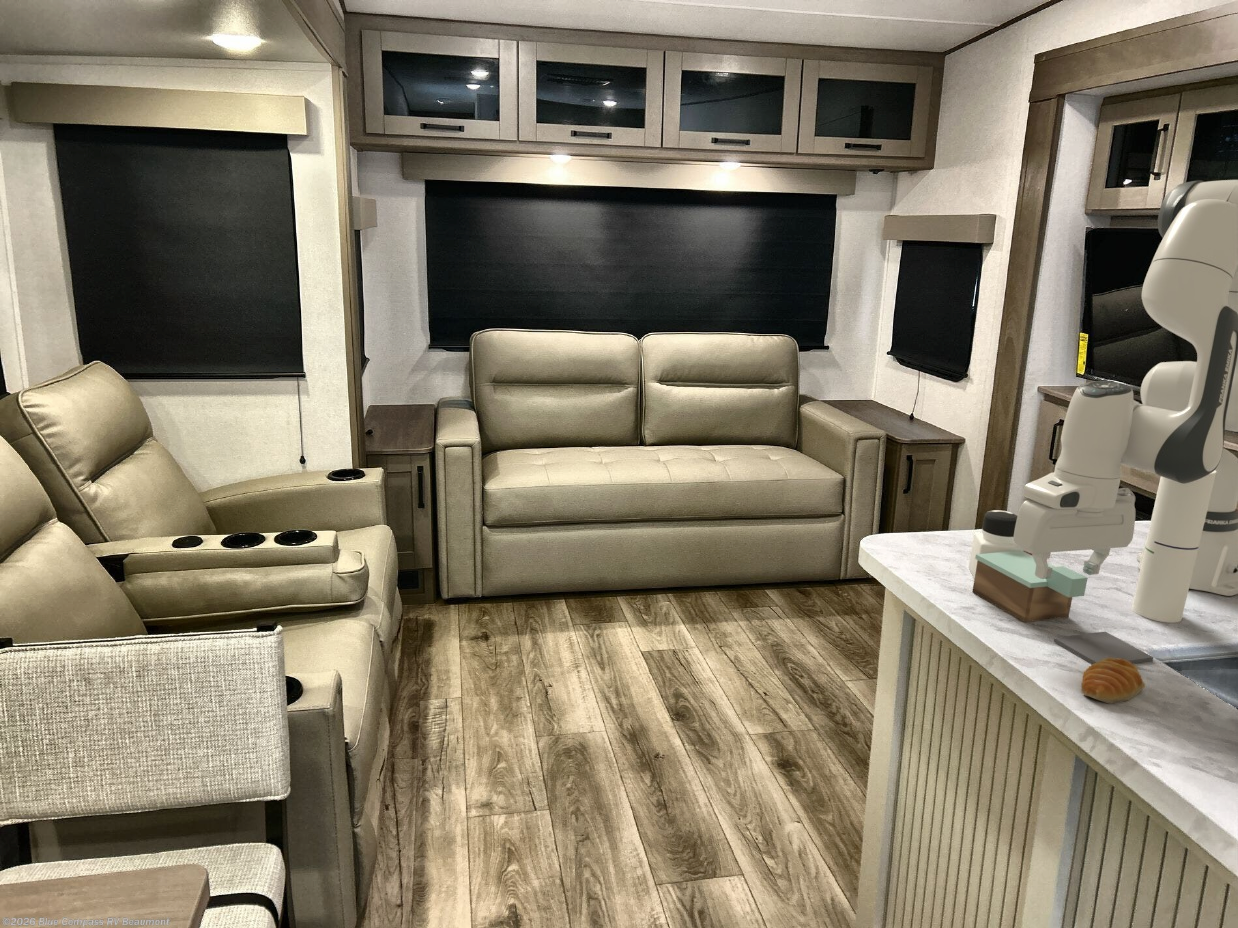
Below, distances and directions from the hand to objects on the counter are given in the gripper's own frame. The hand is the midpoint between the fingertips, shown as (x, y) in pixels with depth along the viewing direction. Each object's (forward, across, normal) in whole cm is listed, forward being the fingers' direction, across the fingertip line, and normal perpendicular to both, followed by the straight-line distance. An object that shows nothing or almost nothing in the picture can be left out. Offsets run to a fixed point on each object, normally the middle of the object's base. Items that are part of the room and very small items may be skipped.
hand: (1066, 575), depth 138 cm
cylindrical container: (+8, -22, 0) cm, 23 cm away
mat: (+9, 0, +8) cm, 12 cm away
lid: (+3, 0, -6) cm, 7 cm away
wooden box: (+9, 0, -8) cm, 12 cm away
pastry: (+9, +8, +18) cm, 22 cm away
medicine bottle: (+9, -4, -20) cm, 22 cm away
